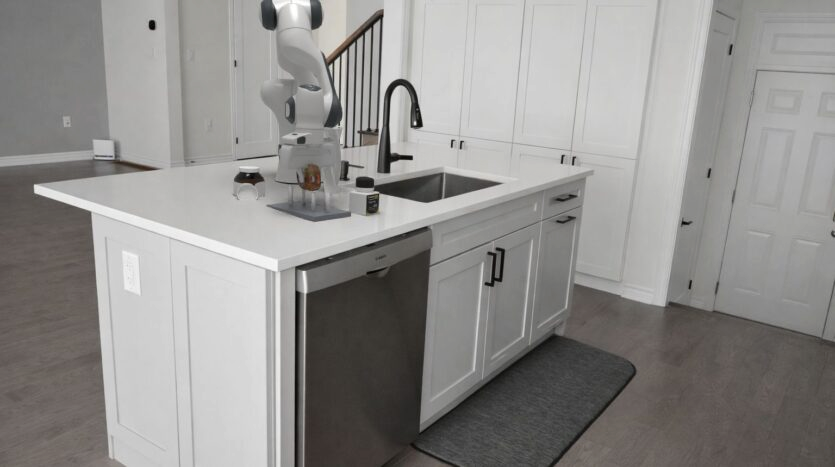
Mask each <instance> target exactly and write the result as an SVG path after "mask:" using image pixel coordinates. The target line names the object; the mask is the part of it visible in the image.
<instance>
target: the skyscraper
mask: <svg viewBox="0 0 835 467" xmlns="http://www.w3.org/2000/svg"><path fill="white" fill-rule="evenodd" d="M342 133H343V126H342V125H336V126H335V127H333V128H326V127H324V138H332V139H333V140H334V142H335V150H336V164H335V166H333V167H322V174H323V182H322V184H323V192H324V191H328V193H329V194H335V195H336V194H339V191H338V190H339V189H338V188H339V184H340V178H341V172H342V171H341V170H342V151H341V150H342V149H341V144H340V140H341V138H342Z"/></svg>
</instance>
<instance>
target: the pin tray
mask: <svg viewBox="0 0 835 467" xmlns="http://www.w3.org/2000/svg"><path fill="white" fill-rule="evenodd" d="M301 189H302V188H301ZM323 192H324V193H323V194H324V195H323V196H324V197H323V204H318V203H316V191H311V202H310V201H307V198H306V197H307V190H305V189H302V190H301V200H297V201H294V187H293V185H288V196H287V197H288V199H287V200H288V201H286V202H279V203H270V204H266V205H265V206H266V207H267V208H270V209H273V210H277V211H279V212H283V213H286V214H288V215H291V216H294V217H297V218H300V219H303V220H306V221H311V222H315V223H316V222H321V221H328V220H334V219H341V218H348V217H351V216H352V213H351V212H350V211H349V210H345V209H342V208H341V209H340V208H337V207H332V206H330V205H331V193H328V191H324V190H323Z"/></svg>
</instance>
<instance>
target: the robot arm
mask: <svg viewBox="0 0 835 467" xmlns="http://www.w3.org/2000/svg"><path fill="white" fill-rule="evenodd" d="M258 18H259V19H258V20H259V21H260V24H261V25H262V28H264V29H265V30H266V31H272V32H274V31H276V32H275V33H276V34H275V42H276V60H277V64H278V66H279V67H280V68H281V69H282V70H283V71H285V72H286V73H288V74H290V75H291V76H292V78H293V79H292V78H291V79H289V78H271V79H266V80H265V81H263V83H262V84H261V86H260V90H259V92H260V93H259V96H260V98H261V101H262V102H263V104H264V105H266V106H267V107H268V109H270V110H271V111H272V113H273V115H274V116H275V119H276V120H277V124H278V131H279V132H278V136H279V143H278V148H277V154H278V163H277V164H278V165H277V171H276V174H275V175H276V176H275V179H274V181H276V182H280V183H286V184H287V183H289V184H298V181H297V175H296V171H297V173H298V175H299V181H300V182H301V183H304V182H307V180H306V179H307V177H305V176H304V174H303V172H304V168H309V165H311V164H315V165H317V166H318V167H319V169H320V172H321V183H323V174H322V167H333V166H335V164H336V150H335V142H334V140H333V139H332V138H324V128H333V127H335V126H336V127H337V126H339V124H340V123H341V122H342V119H343V115H344V114H343V112H344V111H343V107H342V104H341V100H340V98H339V96H338V94H337V90H336V87H335V84H334V80H333V77H332V73H331V70H330V66H329V63H328V60H327V58H326V55H325V53H324V52H323V51H322V50H320V49H319V48H318V46H317V45H316V43H315V41H314V38H313V32H312V31H315V30H318V29H320V28H321V26H323V21H324V18H325V11H324V8H323V5H322V3H321V2H320V0H262V1H261V2H260V5H259V8H258ZM308 164H309V165H308Z"/></svg>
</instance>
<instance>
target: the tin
mask: <svg viewBox="0 0 835 467" xmlns="http://www.w3.org/2000/svg"><path fill="white" fill-rule="evenodd" d="M308 165H309V164H308ZM303 174H304V176H305V177H307V179H306V180H307V182H304V183H301V182H300V181H299V175H298V173H297V171H296V175H297V181H298V183H297V184H298V187H299V188H300V189H305V190H306V191H307V192H308V191H309V192H317V191H319V190H320V189H321V186H322V182H321V172H320V169H319V167H318V166H317V165H315V164H311V165H309V168H304V172H303Z"/></svg>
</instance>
